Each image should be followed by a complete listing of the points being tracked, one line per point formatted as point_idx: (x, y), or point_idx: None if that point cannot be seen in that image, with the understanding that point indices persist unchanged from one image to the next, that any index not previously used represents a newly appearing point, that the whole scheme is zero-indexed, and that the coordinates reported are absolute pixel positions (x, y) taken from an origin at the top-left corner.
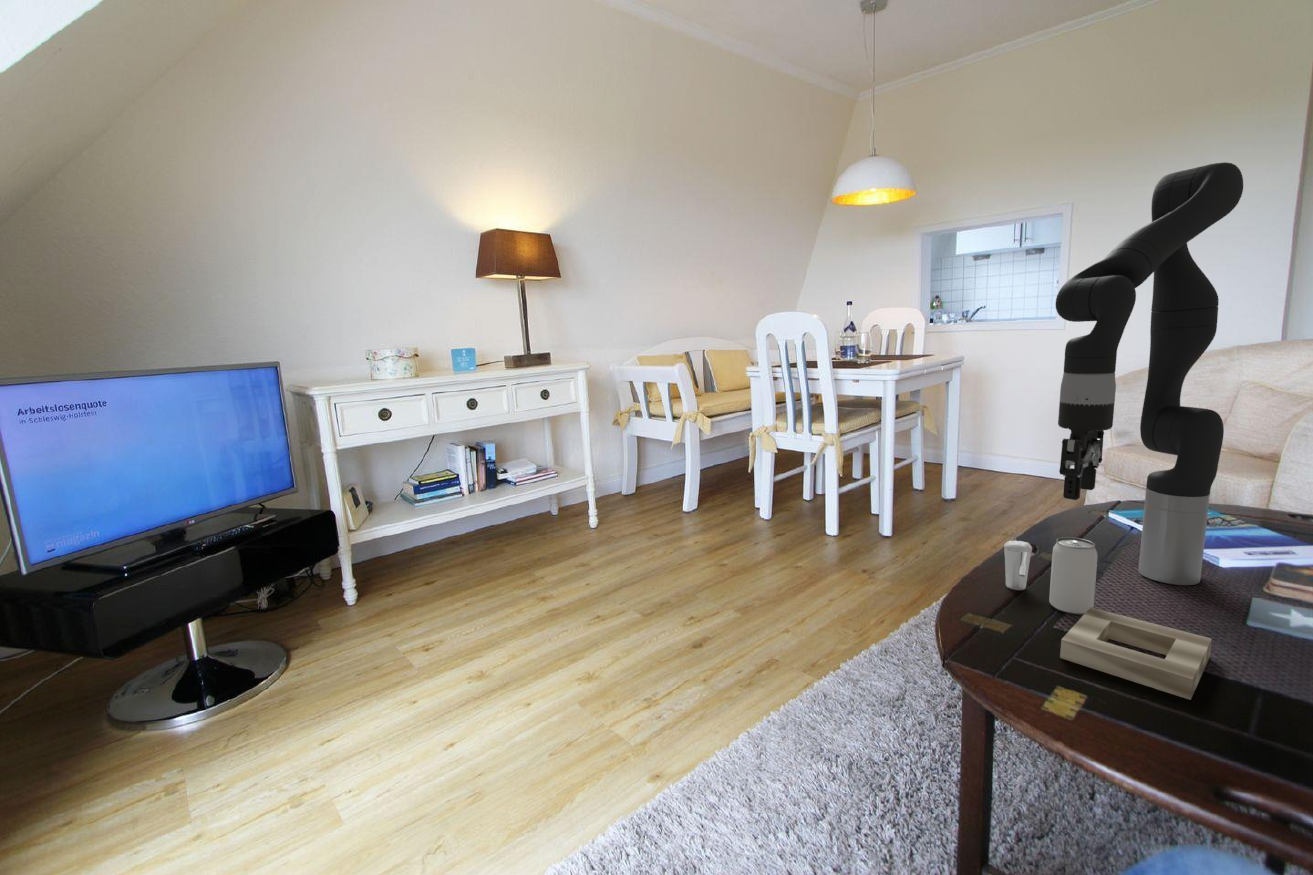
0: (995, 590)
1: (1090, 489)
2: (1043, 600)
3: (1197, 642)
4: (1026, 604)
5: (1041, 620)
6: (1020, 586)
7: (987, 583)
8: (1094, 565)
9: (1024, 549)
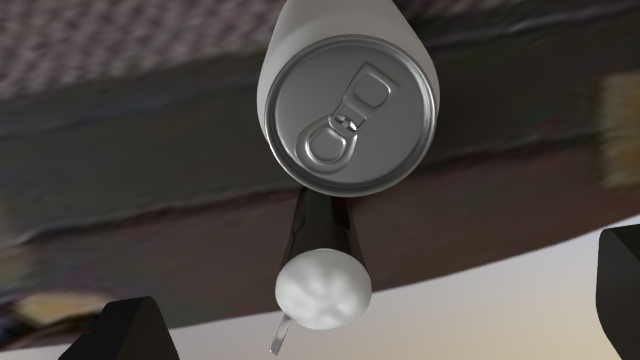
0: (394, 222)
1: (153, 308)
2: None
3: None
4: None
5: (510, 41)
6: None
7: None
8: (352, 2)
9: (347, 263)
